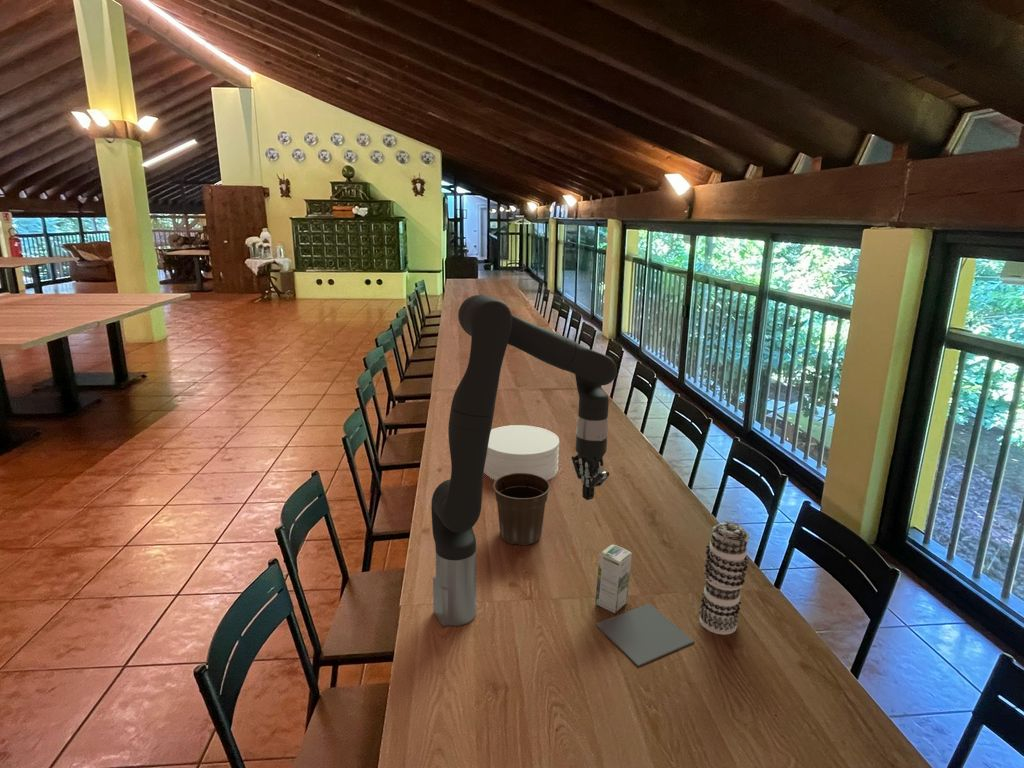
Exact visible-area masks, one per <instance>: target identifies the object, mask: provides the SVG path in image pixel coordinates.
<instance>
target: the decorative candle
mask: <svg viewBox="0 0 1024 768" xmlns="http://www.w3.org/2000/svg"><path fill="white" fill-rule="evenodd" d="M750 538H751V537H750V535H749V533H748V532H747V531H746V530H745V528H744V527H742V525H739V524H738V523H734V522H732V521H731V522H730V521H723V522H721V523H718V524H716V525H715V526H712V527H711V539H710V542H708V543H707V545H706V549H707V550H705V554H706V558H705V564H704V567H705V569H704V577H705V578H704V579H705V585H704V588H703V591H702V593H701V596H702V597H701V599H700V601H701V604H700V605H699V606H700V607H699V609H700V610H699V617H698V618H699V624H701V626H702V627H703V628H704V629H706V630H707V631H708V632H711V633H713V634H717V635H722V636H724V635H731V634H733V633H735V632H736V630H737V628H738V625H737V623H739V620H738V618H739V617H740V614H739V611H740V610H741V607H740V605H741V604H742V601H741V589H742V587H743V585H744V583H745V577H746V571H747V569H748V568H749V567H748V564H749V558H748V557H747V553H748V547H747V546H748V542H749V540H750Z"/></svg>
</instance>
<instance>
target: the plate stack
mask: <svg viewBox="0 0 1024 768" xmlns="http://www.w3.org/2000/svg"><path fill="white" fill-rule="evenodd" d="M559 453H560V438H559V436H558V435H557V434H556V433H554V432H552V431H551V430H549V429H545V428H542V427H538V426H533V425H524V424H513V425H504V426H498V427H495V428H491V432H490V437H489V443H488V449H487V455H486V461H485V466H484V473H485V474H486V475H487V476H489V477H490V478H489V477H488V478H489V479H491V478H492V479H491V480H493V479H494V480H493V481H495V480H497V479H498V478H500V477H501V476H504V475H508V474H512V473H529V474H534V475H538V476H540V477H542V478H544V479H546V480H547V481H550V480H551V479H553V478H555V476H557V474H558V472H559V458H560V457H559V456H560V455H559ZM484 473H483V474H484ZM485 474H484V475H485ZM486 475H485V476H486ZM487 476H486V477H487Z"/></svg>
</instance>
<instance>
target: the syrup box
mask: <svg viewBox="0 0 1024 768" xmlns="http://www.w3.org/2000/svg"><path fill="white" fill-rule="evenodd" d="M632 555H633V553H632V552H631V551H629V550H628V549H626V548H623V547H622V546H618V545H616V544H610V545H609V546H608V547H606V548H605V549H604V550H602V551H601V552H599V557H598V569H597V570H598V571H597V578H596V579H597V581H596V592H595V593H596V594H595V605H597V606H599V607H601V608H603V609H604V610H606V611H609V612H610V613H613V614H617V613H618V612H619V611H620V610H621V609H622V608H623V607H624V606H625V605H626V604H627V603H628V594H629V585H630V575H631V566H632Z"/></svg>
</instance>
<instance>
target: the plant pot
mask: <svg viewBox="0 0 1024 768" xmlns="http://www.w3.org/2000/svg"><path fill="white" fill-rule="evenodd" d="M492 489H493V491H494V493H495V500H496V502H497V511H498V512H497V514H498V523H499V525H498V526H499V535H500V538H501V539H502V540H503V541H505V542H506V543H508V544H511V545H514V544H517V545H518V546H525V545H527V546H528V545H531V544H535V543H536V542H538V541H539V540H540V539H541V537H542V533H543V525H544V516H545V508H546V502H547V501H548V494H549V492H550V490H551V484H550V482H549V480H546V479H544V478H542V477H540V476H538V475H534V474H529V473H512V474H508V475H504V476H501V477H500V478H498V479H497V480H494V482H493V485H492Z"/></svg>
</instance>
